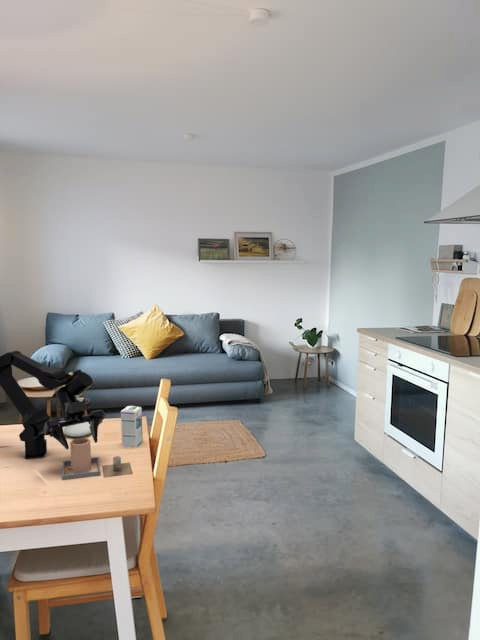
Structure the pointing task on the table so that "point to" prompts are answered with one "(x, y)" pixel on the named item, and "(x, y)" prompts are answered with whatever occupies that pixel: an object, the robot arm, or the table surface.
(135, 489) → the table surface
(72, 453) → the ring tube
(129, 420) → the syrup box
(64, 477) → the charcoal tray
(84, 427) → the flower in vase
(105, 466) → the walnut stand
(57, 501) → the table surface
